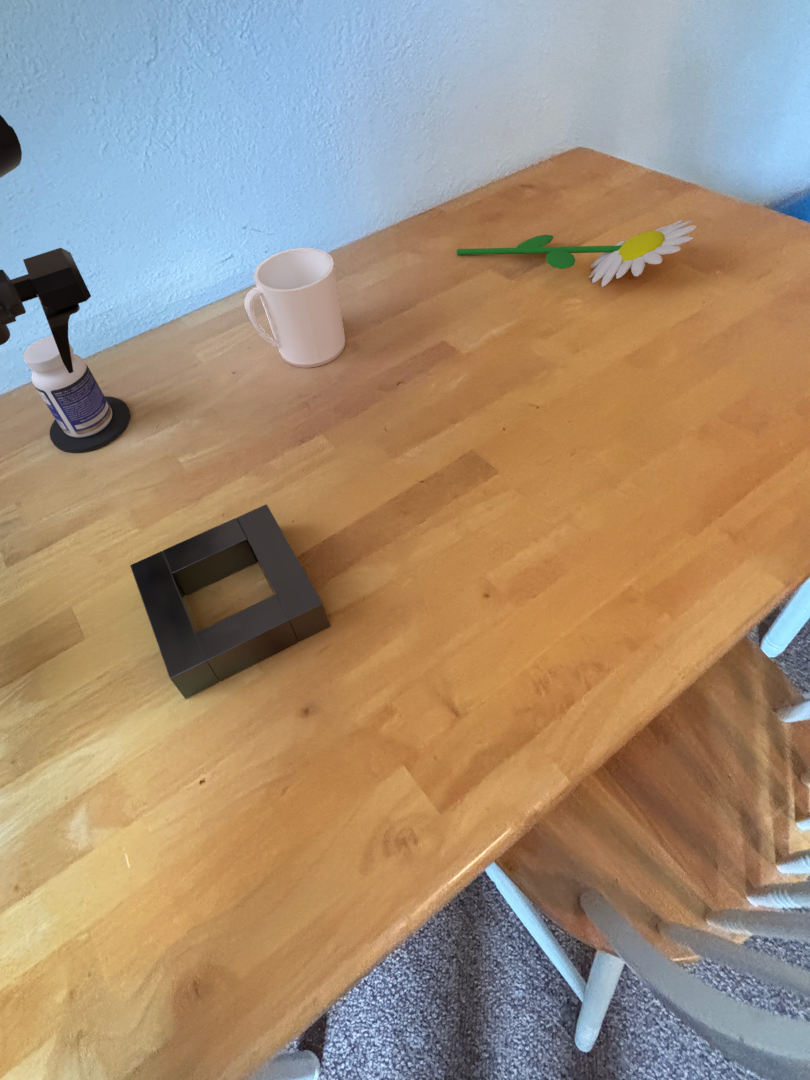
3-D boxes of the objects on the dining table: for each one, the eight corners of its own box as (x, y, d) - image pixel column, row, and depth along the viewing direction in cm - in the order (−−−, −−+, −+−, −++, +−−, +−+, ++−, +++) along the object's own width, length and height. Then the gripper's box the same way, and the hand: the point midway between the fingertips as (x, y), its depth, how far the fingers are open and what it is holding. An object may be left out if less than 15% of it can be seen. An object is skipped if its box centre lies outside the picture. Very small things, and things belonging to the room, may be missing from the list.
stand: (185, 699, 57) (169, 678, 54) (145, 588, 65) (129, 564, 62) (331, 626, 60) (323, 603, 57) (275, 528, 68) (266, 503, 65)
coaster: (59, 464, 77) (56, 460, 76) (45, 419, 82) (43, 415, 82) (139, 432, 79) (137, 428, 78) (120, 390, 84) (118, 386, 84)
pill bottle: (121, 405, 81) (81, 331, 74) (103, 439, 78) (59, 365, 70) (75, 406, 82) (31, 332, 75) (55, 439, 79) (7, 366, 71)
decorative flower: (443, 295, 94) (683, 297, 81) (437, 259, 90) (686, 256, 77) (477, 251, 101) (701, 247, 88) (472, 217, 98) (704, 207, 85)
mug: (327, 317, 89) (310, 239, 81) (363, 349, 84) (348, 269, 76) (249, 352, 86) (223, 275, 78) (281, 388, 81) (257, 309, 73)
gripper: (-217, 312, 48) (-76, 477, 60) (58, 226, 52) (139, 395, 64) (-208, 248, 55) (-83, 408, 66) (34, 177, 59) (111, 338, 71)
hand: (22, 388), depth 67 cm, fingers open, 9 cm apart
